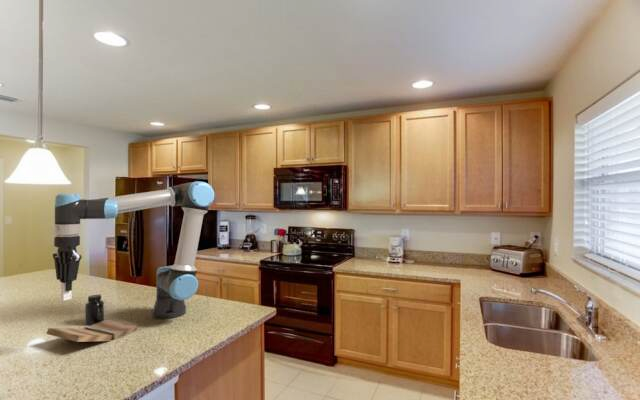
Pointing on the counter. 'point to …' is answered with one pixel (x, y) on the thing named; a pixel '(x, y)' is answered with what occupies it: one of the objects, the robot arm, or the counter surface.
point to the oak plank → (79, 334)
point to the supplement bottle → (94, 310)
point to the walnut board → (112, 328)
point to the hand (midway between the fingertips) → (66, 299)
